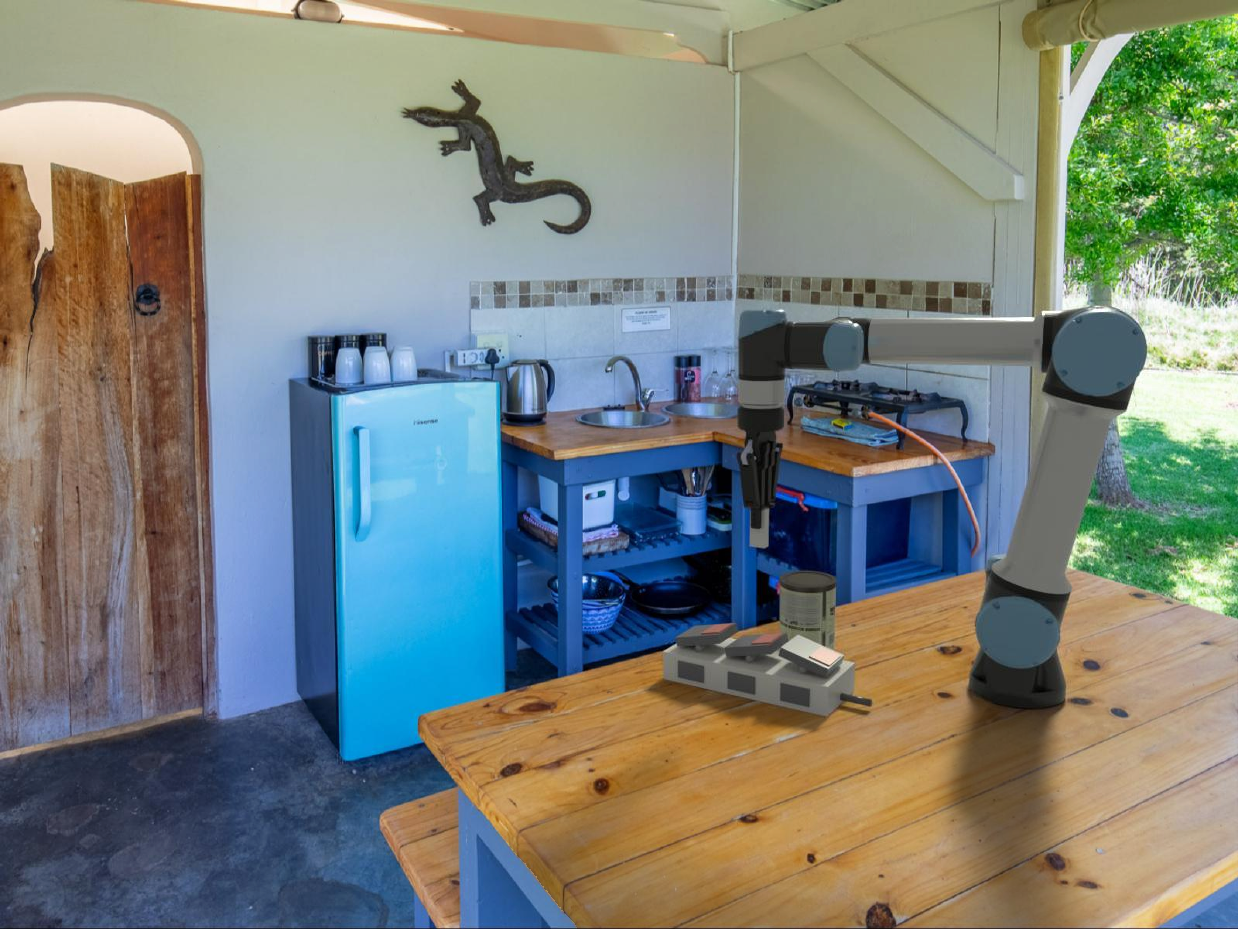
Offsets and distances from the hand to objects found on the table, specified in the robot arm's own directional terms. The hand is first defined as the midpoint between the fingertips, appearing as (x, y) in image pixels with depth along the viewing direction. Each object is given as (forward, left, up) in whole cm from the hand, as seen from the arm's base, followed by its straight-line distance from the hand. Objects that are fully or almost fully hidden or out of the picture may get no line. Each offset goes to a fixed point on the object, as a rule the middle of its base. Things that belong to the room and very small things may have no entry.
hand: (759, 546), depth 175 cm
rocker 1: (+9, 0, -18) cm, 20 cm away
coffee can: (-1, -19, -25) cm, 31 cm away
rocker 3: (-10, 0, -18) cm, 20 cm away
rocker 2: (0, 0, -18) cm, 18 cm away
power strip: (-2, 0, -24) cm, 25 cm away
